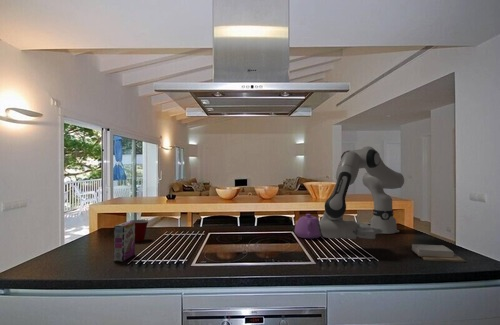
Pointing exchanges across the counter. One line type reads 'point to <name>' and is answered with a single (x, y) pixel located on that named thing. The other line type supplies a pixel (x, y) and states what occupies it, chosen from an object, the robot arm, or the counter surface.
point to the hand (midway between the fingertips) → (381, 231)
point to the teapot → (307, 227)
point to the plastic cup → (140, 229)
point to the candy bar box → (124, 241)
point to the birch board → (444, 259)
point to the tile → (432, 251)
